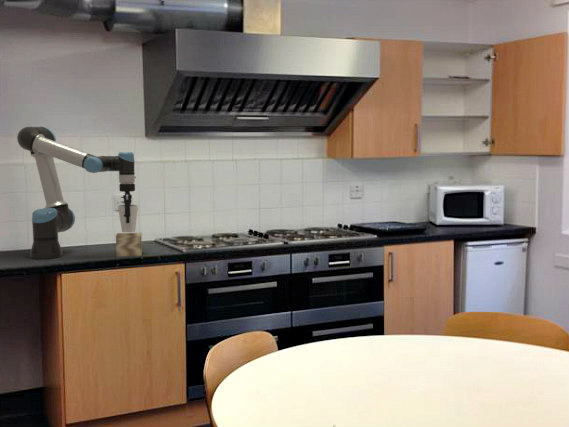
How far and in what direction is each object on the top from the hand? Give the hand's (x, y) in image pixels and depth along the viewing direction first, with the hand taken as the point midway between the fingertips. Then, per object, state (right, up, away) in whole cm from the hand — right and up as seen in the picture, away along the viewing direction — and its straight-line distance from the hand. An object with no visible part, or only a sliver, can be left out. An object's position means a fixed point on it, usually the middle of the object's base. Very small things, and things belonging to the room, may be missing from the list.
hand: (128, 228), depth 362 cm
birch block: (0, -13, +1) cm, 13 cm away
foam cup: (0, -2, 0) cm, 2 cm away
